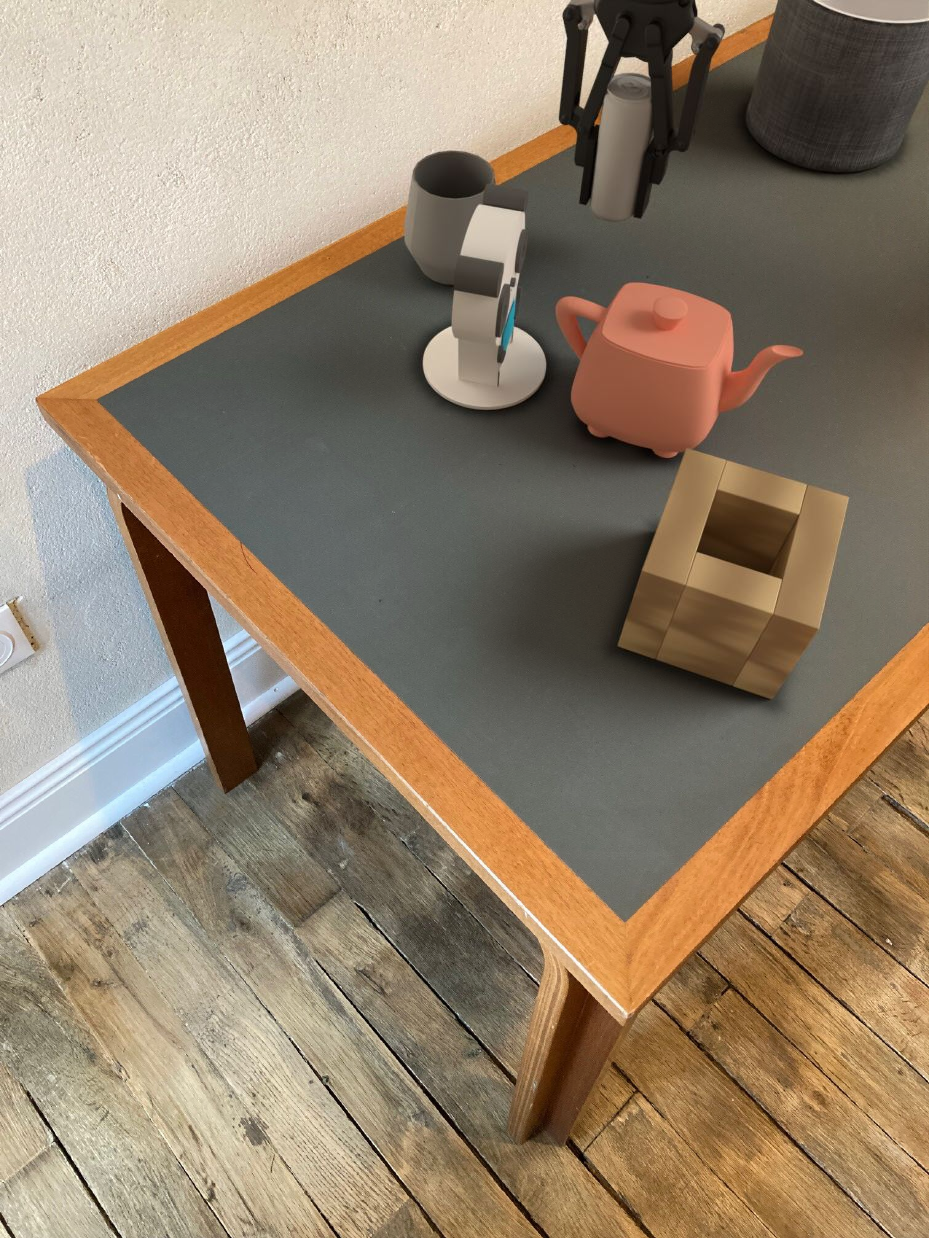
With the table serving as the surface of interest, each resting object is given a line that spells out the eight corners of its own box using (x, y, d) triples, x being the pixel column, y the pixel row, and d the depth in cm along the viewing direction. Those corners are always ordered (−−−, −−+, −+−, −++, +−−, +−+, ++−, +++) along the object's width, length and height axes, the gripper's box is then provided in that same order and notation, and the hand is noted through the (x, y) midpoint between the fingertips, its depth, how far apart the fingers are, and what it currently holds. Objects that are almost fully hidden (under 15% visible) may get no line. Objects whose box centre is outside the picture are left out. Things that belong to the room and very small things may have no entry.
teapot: (522, 428, 83) (534, 319, 72) (567, 343, 89) (583, 231, 78) (744, 499, 79) (790, 395, 69) (775, 406, 85) (821, 297, 75)
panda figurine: (530, 425, 83) (547, 284, 70) (406, 401, 84) (401, 257, 71) (556, 335, 89) (576, 190, 76) (440, 313, 90) (441, 167, 78)
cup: (466, 227, 97) (468, 133, 89) (517, 277, 93) (525, 184, 85) (387, 257, 95) (382, 164, 86) (437, 311, 90) (437, 218, 82)
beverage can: (607, 231, 91) (627, 107, 80) (578, 204, 93) (594, 81, 83) (647, 215, 92) (671, 91, 82) (617, 189, 94) (637, 66, 84)
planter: (845, 76, 115) (898, -72, 102) (931, 157, 106) (1002, 7, 93) (717, 101, 111) (755, -49, 98) (795, 187, 103) (849, 35, 89)
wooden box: (802, 576, 75) (849, 496, 66) (772, 700, 69) (819, 629, 60) (658, 530, 77) (686, 447, 69) (617, 646, 71) (641, 570, 63)
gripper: (532, -73, 72) (514, 203, 92) (763, -28, 69) (693, 248, 88) (563, -111, 76) (540, 162, 95) (783, -71, 72) (712, 203, 92)
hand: (613, 203), depth 92 cm, fingers closed on beverage can, 5 cm apart
